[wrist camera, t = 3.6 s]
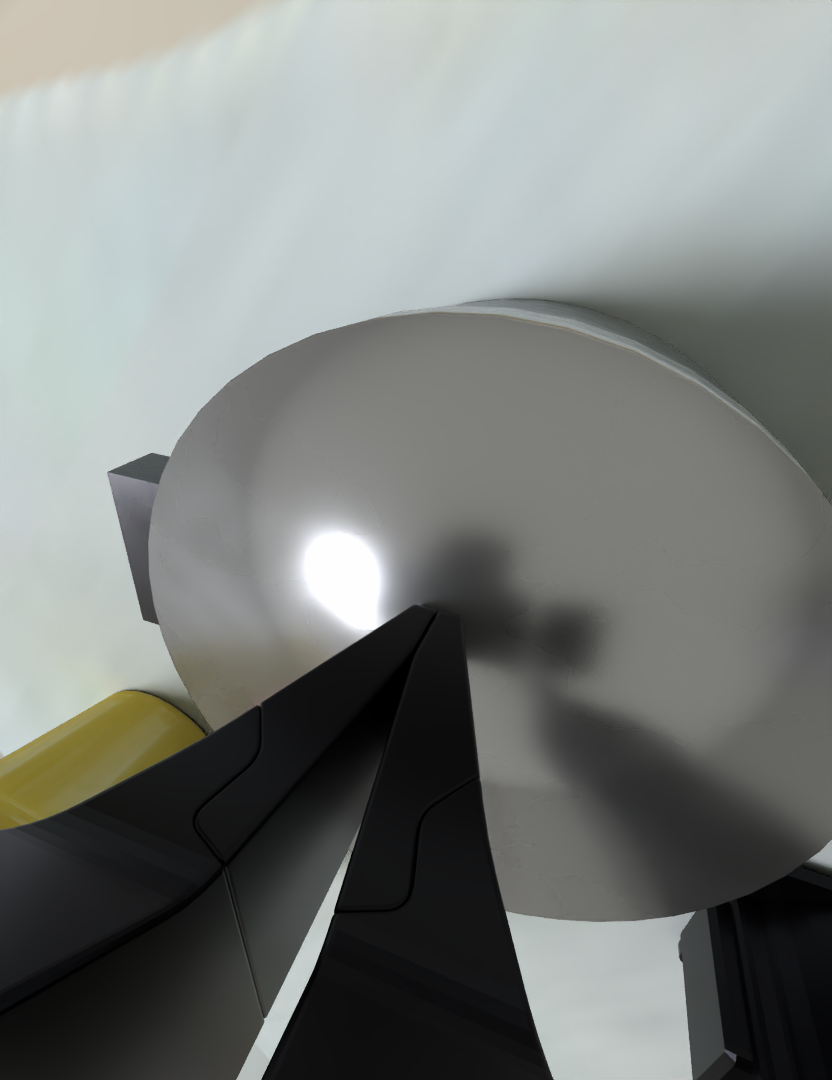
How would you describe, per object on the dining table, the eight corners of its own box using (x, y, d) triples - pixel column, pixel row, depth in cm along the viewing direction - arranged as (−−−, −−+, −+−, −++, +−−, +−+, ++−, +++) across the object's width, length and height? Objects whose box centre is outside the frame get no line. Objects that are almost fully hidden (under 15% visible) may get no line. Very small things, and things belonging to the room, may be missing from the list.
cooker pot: (1080, 359, 9) (1358, 426, 5) (763, 819, 15) (802, 976, 12) (188, 261, 13) (42, 265, 10) (239, 651, 20) (162, 732, 16)
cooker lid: (1098, 376, 6) (1373, 448, 4) (695, 940, 12) (711, 1084, 10) (137, 265, 9) (-13, 268, 7) (223, 759, 16) (160, 840, 14)
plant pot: (35, 657, 25) (-245, 852, 17) (190, 648, 21) (-87, 905, 13) (142, 807, 29) (-44, 1024, 21) (292, 826, 25) (130, 1111, 16)
